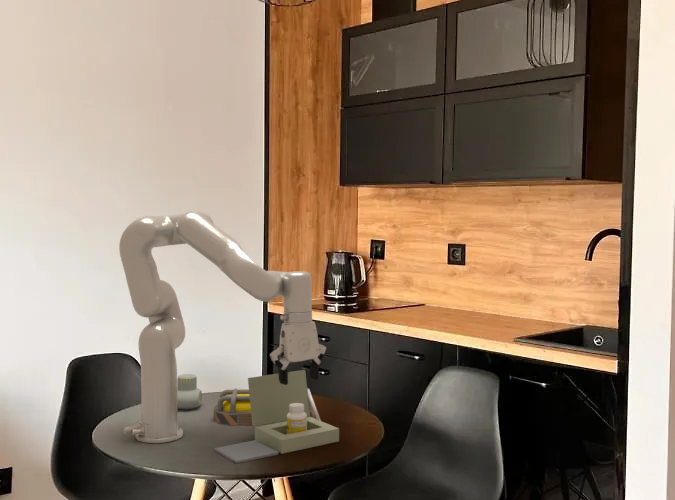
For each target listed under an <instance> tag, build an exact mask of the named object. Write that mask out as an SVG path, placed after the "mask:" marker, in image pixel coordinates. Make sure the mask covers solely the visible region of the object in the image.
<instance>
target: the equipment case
mask: <svg viewBox="0 0 675 500" xmlns="http://www.w3.org/2000/svg"><path fill="white" fill-rule="evenodd" d="M306 376H307V374H306V370H305V369H302V370H295V371H289V372H288V384H287V385H284V384H281V383H280V381H279V373H273V374H266V375H265V374H264V375H260V376H253V377H252V376H251V377H247V382H248V389H249V395H250V405H251V415H252V425H251V426H252V427H254V440H256V441H258V442H260V443H262V444H264V445H266V446H268V447H269V448H271V449H273V450H275V451H277V452H279V453H280V454H281V455H282V454H287V453H292V452H296V451H297V452H298V451H301V450H305V449H309V448H310V449H311V448H315V447H319V446H324V445H328V444H333V443H339V442H340V428H339V427H336V426H333V425H331V424H329V423H326V422H324V421H322V420H321V418H320V415H319V412H318V409H317V407H316V404H315V400H314V398H313V396H312V393H311V390H310V388H308V383H307V377H306ZM308 397H309V400H310V403H311V405H312V408H313V411H314V414H315V418H312V417H308V416H310V410H309V400H308ZM292 403H302V404H304V411H303V412H305V413H306V415H307V430H306V431H301V432H296V433H291V434H287V414H288V413H289V412H290V410H289V405H290V404H292ZM281 421H284V422H281ZM276 422H279V423H276ZM270 423H273V424H270ZM265 424H268V425H265Z"/></svg>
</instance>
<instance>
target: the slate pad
mask: <svg viewBox="0 0 675 500" xmlns="http://www.w3.org/2000/svg"><path fill="white" fill-rule="evenodd" d="M213 449H214V452H216V453H217V454H219V455H222V456H223V457H225V458H227V460H229V461H231V462H233V463H235V464H240V463H245V462H250V461H254V460H259V459H263V458H268V457H272V456H277V455H279V452H278V451H276V450H274V449H272V448H270V447H268V446H266V445H264V444H262V443H260V442H258V441H256V440H255V439H253V440H249V441H244V442H239V443H233V444H229V445H224V446H218V447H214V448H213Z"/></svg>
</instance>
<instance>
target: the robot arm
mask: <svg viewBox="0 0 675 500" xmlns="http://www.w3.org/2000/svg"><path fill="white" fill-rule="evenodd" d="M185 244H186V245H188V246H190V247H191V248H192V249H193V250H194V251H196V252H198V253H199V254H200V255H202V256H203V257H204V258H205V259H207V260H208V261H210V262H211V263H213V265H215V266H216V267H218V269H219V270H220V271H221V272H222V273H223V274H225V276H226V277H227V278H229V279H230V281H232V282H233V283H235V285H236V286H238V287H239V288H240V289H242V290H243V291H245V292H246V293H247V294H249V295H250V296H251V297H253V298H254V299H256V300H258V301H260V302H263V303H264V302H265V303H266V302H272V301H273V300H275V299H276V298H281V297H283V314H282V315H280V316H279V317H280V321H283V323H281V327H280V328H281V329H280V335H279V347H277V348H276V349H275V350H273V351H271V353H270V354H269V357H270V359H271V361H272V364H273V365H274V366H275V367H276V368H277V369H278V374H279V381H280V383H281V384H284V385H287V384H288V369H287V367H288V366H289V364H290V363H297V362H305V361H310V363H309V378H310V379H314V380H319V369H320V367H319V366H320V364H321V362H322V359H324V357H325V356H324V355H325V353H326V351H327V346H325V345H324V344H321V343H319V338H318V330H317V326H316V323H315V321H313V307H312V306H313V302H312V301H313V298H312V297H313V296H312V295H313V294H312V293H313V291H312V285H313V284H312V276H311V274H310V272H308V271H303V270H300V271H299V270H298V271H287V272H286V271H280V270H266V269H264V268H262V267H261V266H260V265H258V264H257V263H256V262H254V261H253V260H252V259H251V258H250V257H249V256H248V254H246V253H245V252H244V250H243V248H242V246H241V245H240V243H239V242H238V241H237V240H236V239H235V238H233V237H232V236H231V235H229V234H228V233H226V232H225V231H223V230H222V229H221V228H220V227H219V226H217V225H216V224H214V221H213V219H212V218H211V216H209V214H207V213H205V212H203V211H194V210H193V211H188V212H185V213H181V214H171V215H159V216H155V215H154V216H153V215H148V216H142V217H139V218H137V219H135V220H134V221H131V222H130V224H128V226H126V228H125V229H124V231H123V232H122V234H121V237H120V239H119V244H118V245H119V249H118V250H119V256H120V261H121V263H122V267H123V270H124V274H125V280H126V283H127V287H128V292H129V295H130V299H131V303H132V307H133V310H134V311H135V312H136V313H137V315H138V316H141V317H142V318H147V319H148V322H149V324H147V325H146V326H145V327H143V329H142V330H141V332H140V335H139V338H138V353H139V359H140V362H139V363H140V381H141V382H140V384H141V385H140V386H141V388H140V393H141V394H140V396H141V397H140V398H141V399H140V400H141V402H140V405H141V408H140V410H141V412H140V413H141V420H140V419H139V420H137V423H135V424H134V425H132V426H131V425H129V426H127V425H126V426H124V427H123V430H122V431H123V434H124V435H129V434H131V435H133V436H134V435H135V439H136V440H137V441H139V442H141V443H149V444H161V443H162V444H163V443H170V442H174V441H177V440H179V439H181V438H182V437H183V435H184V431H183V429H182V428H181V427H178V408H177V379H178V365H177V358H176V350H177V349H178V348H179V347H180V346H181V345H182V344H183V342H184V341H185V339H186V326H185V321H184V318H183V315H182V311H181V307H180V303H179V300H178V297H177V294H176V291H175V289H174V287H173V286H172V285H171V284H170V283H169V282H167V281H165V280H161V279H160V275H159V272H158V267H157V263H156V262H155V258H154V256H153V254H152V251H153V248H160V247H161V248H162V247H166V246H167V247H168V246H177V245H185ZM278 357H279V358H278ZM279 359H280V360H279Z"/></svg>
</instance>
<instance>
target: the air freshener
mask: <svg viewBox="0 0 675 500" xmlns="http://www.w3.org/2000/svg"><path fill="white" fill-rule="evenodd" d="M197 387H198V386H197V375H196V374H193V373H185V374H179V375H177V410H178V409H179V410H193V409H197V408H198V407H200V406H201V404H202V400H203V391H202V390H201V389H200V388H197Z"/></svg>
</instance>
